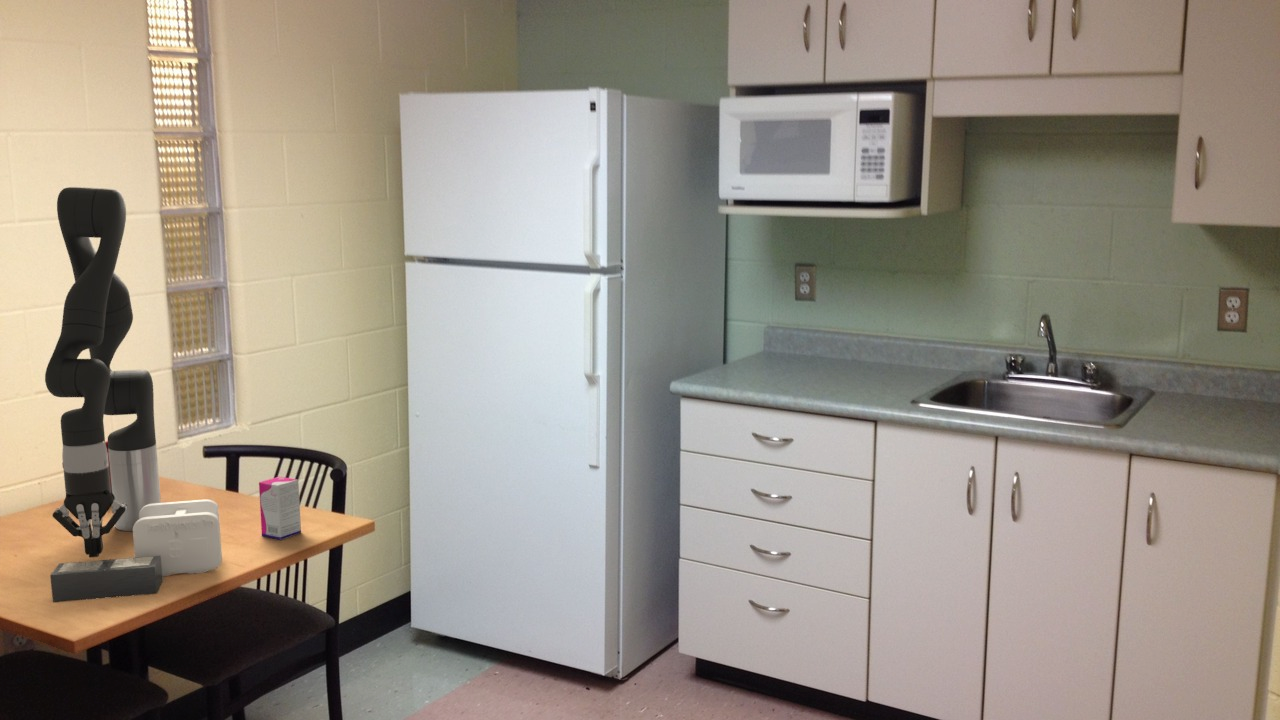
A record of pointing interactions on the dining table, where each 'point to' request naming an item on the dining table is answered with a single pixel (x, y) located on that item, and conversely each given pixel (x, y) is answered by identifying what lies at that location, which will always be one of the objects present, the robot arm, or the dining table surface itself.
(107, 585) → the block
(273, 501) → the supplement box
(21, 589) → the dining table surface
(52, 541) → the dining table surface
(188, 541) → the cable organizer
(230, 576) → the dining table surface
